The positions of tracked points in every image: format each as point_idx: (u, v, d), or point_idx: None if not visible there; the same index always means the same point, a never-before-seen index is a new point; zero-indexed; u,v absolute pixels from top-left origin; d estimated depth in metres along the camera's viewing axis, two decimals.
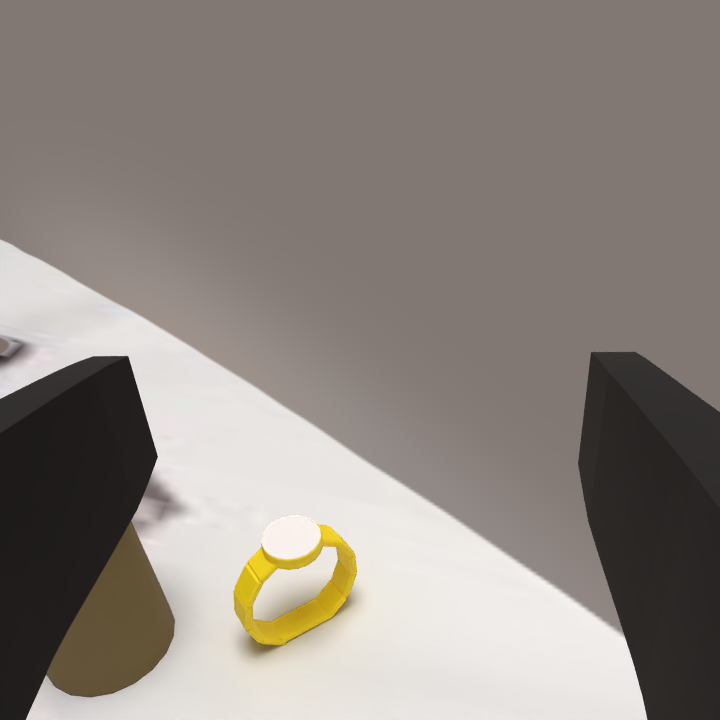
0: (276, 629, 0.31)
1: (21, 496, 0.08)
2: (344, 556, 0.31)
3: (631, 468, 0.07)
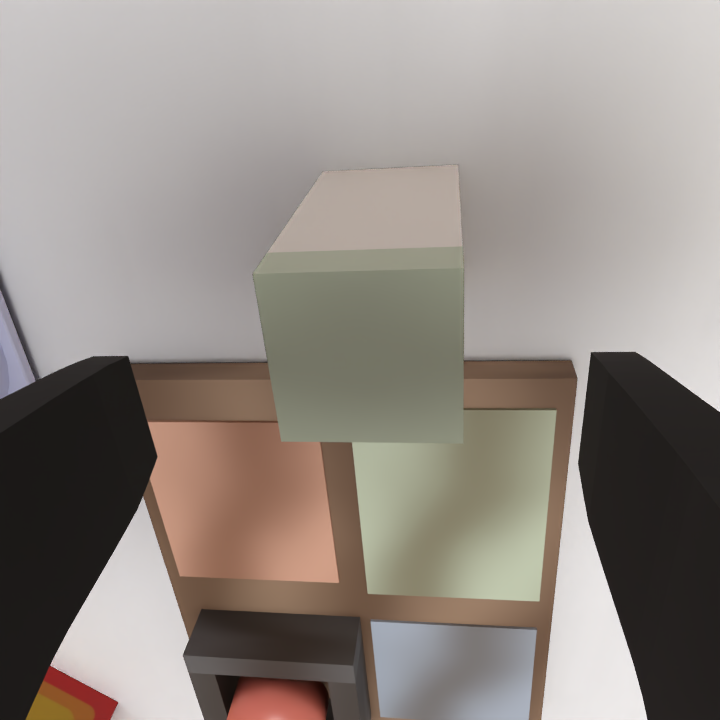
0: None
1: (21, 497, 0.08)
2: None
3: (631, 468, 0.07)
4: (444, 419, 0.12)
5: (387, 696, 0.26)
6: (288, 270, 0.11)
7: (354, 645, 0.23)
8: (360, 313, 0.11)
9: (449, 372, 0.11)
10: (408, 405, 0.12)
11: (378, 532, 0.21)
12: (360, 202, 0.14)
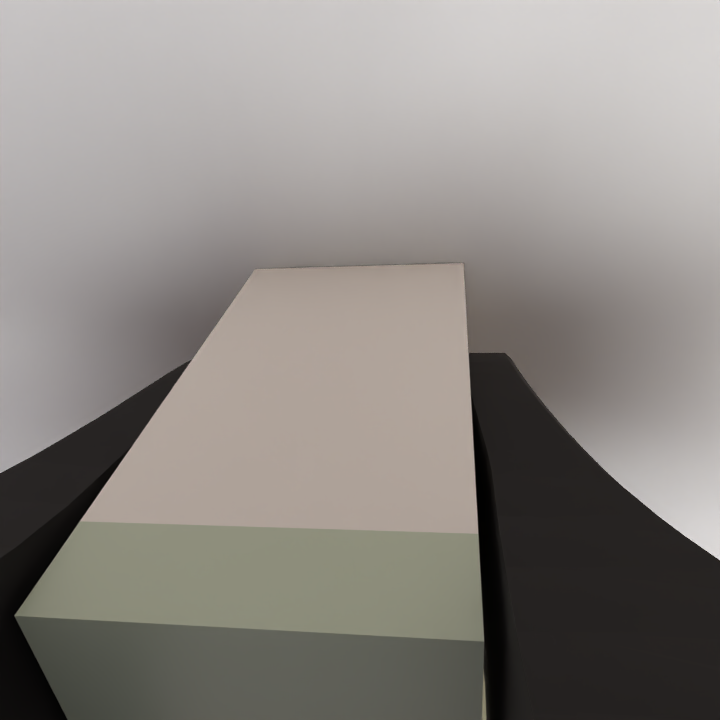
0: None
1: None
2: None
3: None
4: None
5: None
6: (92, 610, 0.05)
7: None
8: (255, 693, 0.05)
9: None
10: None
11: None
12: (297, 354, 0.08)
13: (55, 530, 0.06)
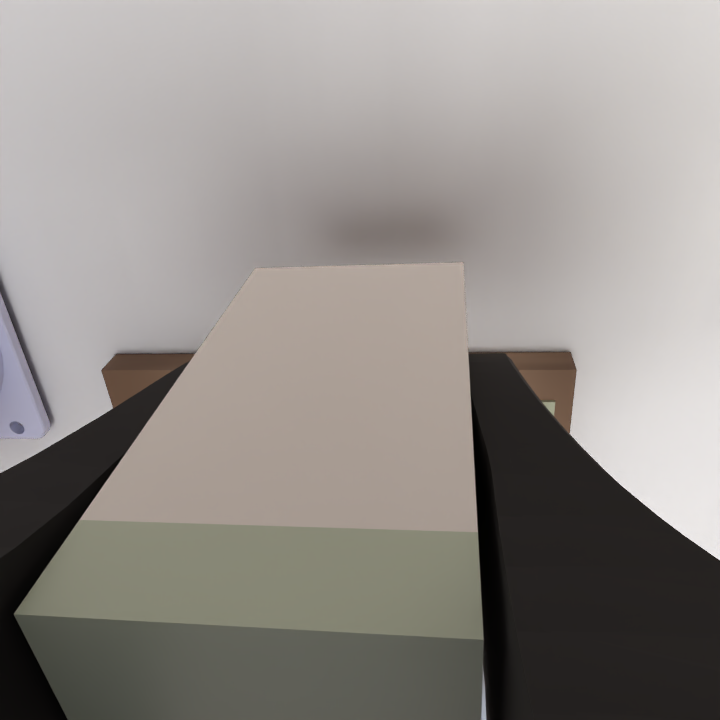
0: None
1: None
2: None
3: (474, 466, 0.08)
4: None
5: None
6: (92, 609, 0.05)
7: None
8: (255, 692, 0.05)
9: None
10: None
11: None
12: (296, 353, 0.08)
13: (56, 531, 0.06)
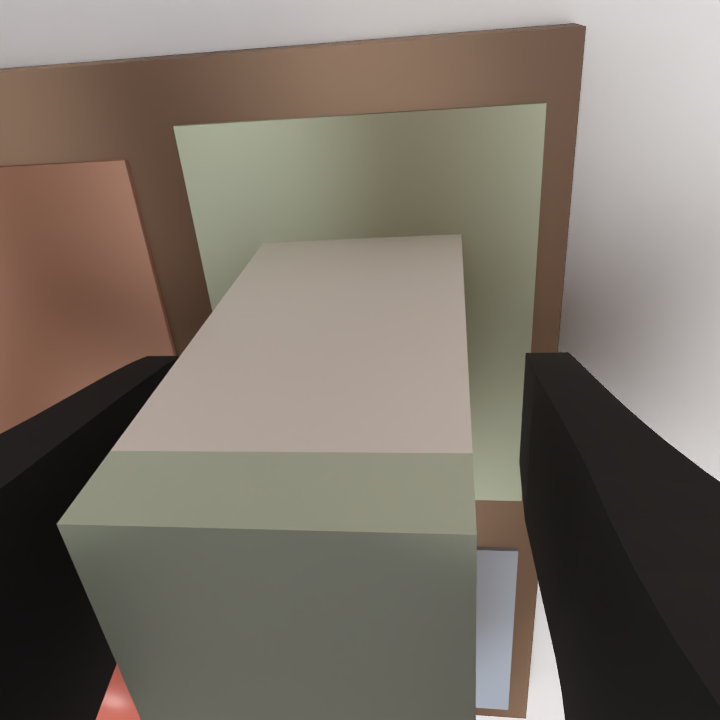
0: None
1: None
2: None
3: (551, 467, 0.08)
4: None
5: None
6: (125, 519, 0.05)
7: None
8: (273, 595, 0.06)
9: (449, 688, 0.06)
10: None
11: None
12: (305, 313, 0.09)
13: None
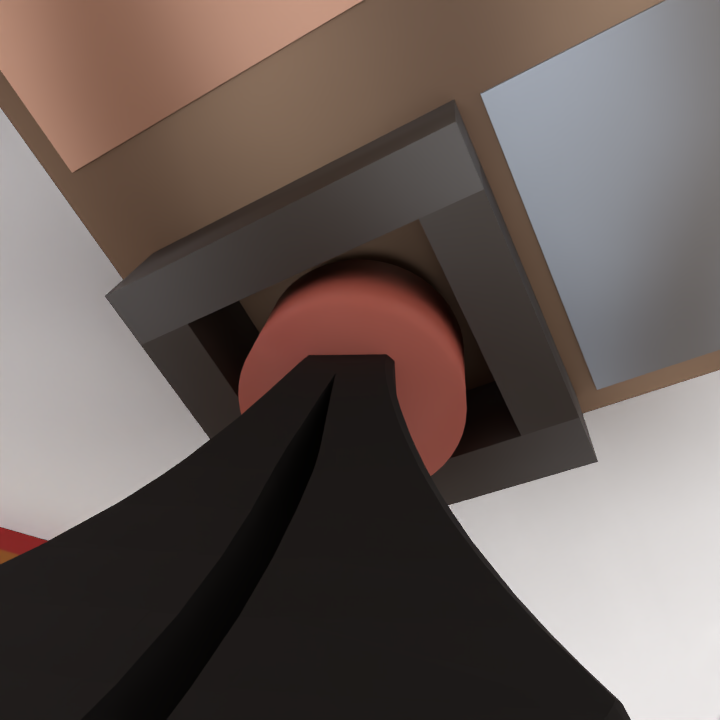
0: None
1: None
2: None
3: None
4: None
5: (594, 327, 0.12)
6: None
7: (451, 113, 0.09)
8: None
9: None
10: None
11: None
12: None
13: (243, 536, 0.05)
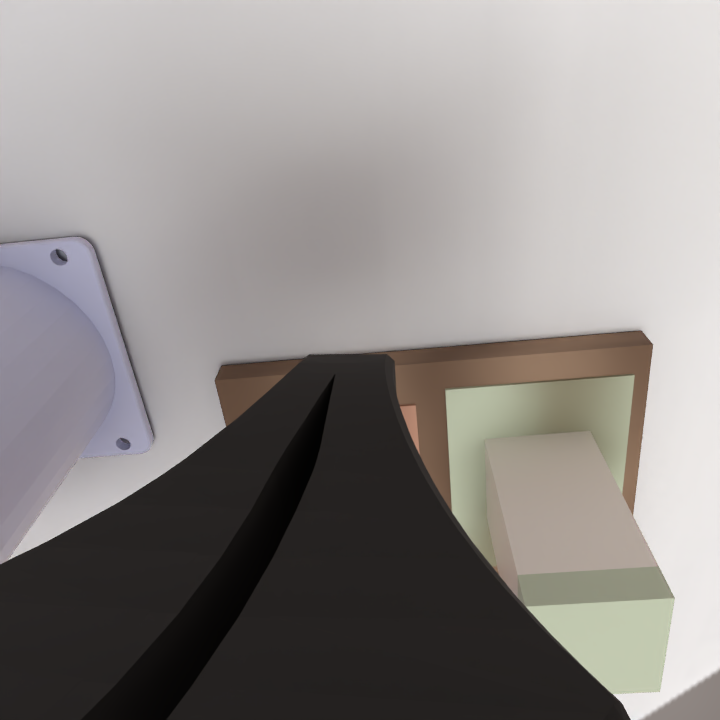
0: None
1: None
2: None
3: None
4: (648, 678, 0.17)
5: None
6: (549, 602, 0.15)
7: None
8: (598, 624, 0.16)
9: (656, 653, 0.16)
10: (623, 672, 0.16)
11: (468, 506, 0.23)
12: (545, 493, 0.19)
13: (243, 536, 0.05)
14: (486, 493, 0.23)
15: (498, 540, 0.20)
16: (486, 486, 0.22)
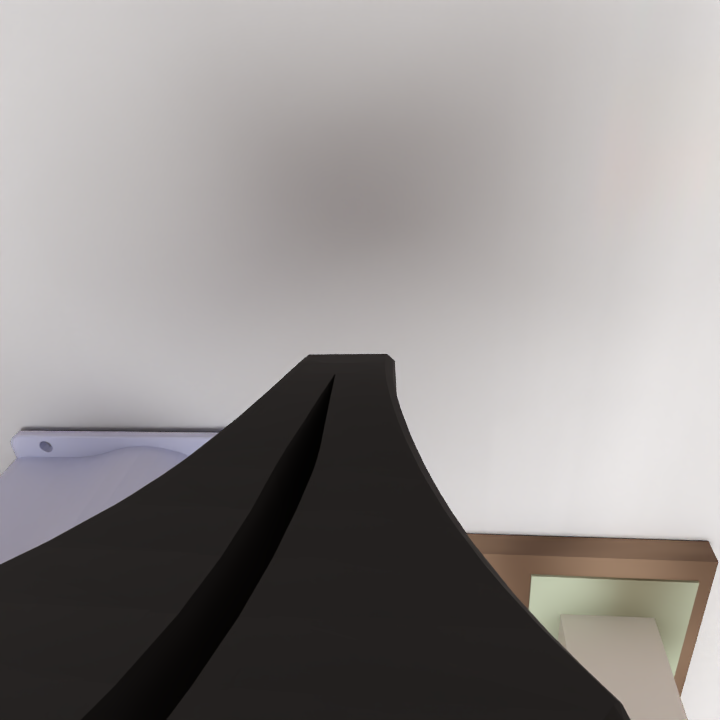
0: None
1: None
2: None
3: None
4: None
5: None
6: None
7: None
8: None
9: None
10: None
11: None
12: (613, 687, 0.22)
13: (243, 536, 0.05)
14: None
15: None
16: None
